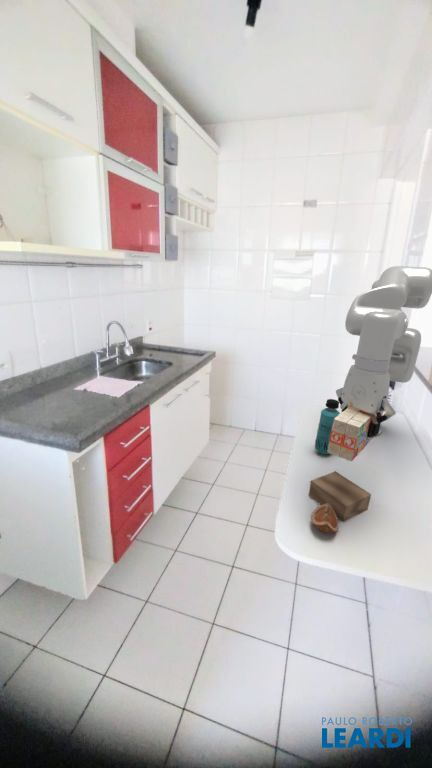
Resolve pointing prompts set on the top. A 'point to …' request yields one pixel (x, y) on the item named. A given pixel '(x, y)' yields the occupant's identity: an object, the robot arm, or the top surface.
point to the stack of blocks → (349, 432)
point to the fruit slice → (325, 518)
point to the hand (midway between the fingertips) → (357, 428)
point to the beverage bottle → (326, 425)
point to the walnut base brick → (340, 495)
